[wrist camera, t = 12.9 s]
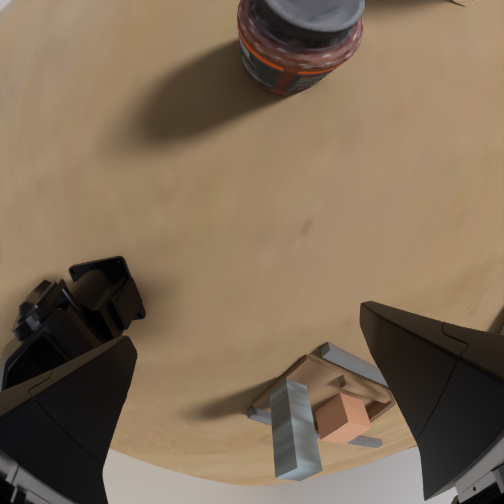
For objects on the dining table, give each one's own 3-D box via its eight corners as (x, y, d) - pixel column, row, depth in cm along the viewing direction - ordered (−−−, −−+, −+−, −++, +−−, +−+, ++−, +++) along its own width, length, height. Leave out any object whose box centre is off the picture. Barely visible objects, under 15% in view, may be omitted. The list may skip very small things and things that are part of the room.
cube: (315, 411, 31) (320, 439, 27) (340, 392, 30) (348, 421, 26) (338, 418, 32) (345, 444, 28) (362, 400, 31) (371, 427, 27)
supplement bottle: (337, 56, 17) (413, 3, 6) (292, 111, 18) (342, 89, 8) (271, 12, 15) (292, -75, 5) (224, 66, 17) (200, 1, 7)
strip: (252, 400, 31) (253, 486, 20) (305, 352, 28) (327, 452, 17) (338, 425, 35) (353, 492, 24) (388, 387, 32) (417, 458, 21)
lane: (247, 410, 32) (247, 417, 31) (327, 342, 27) (330, 349, 26) (376, 442, 38) (377, 447, 37) (439, 396, 34) (442, 401, 33)
